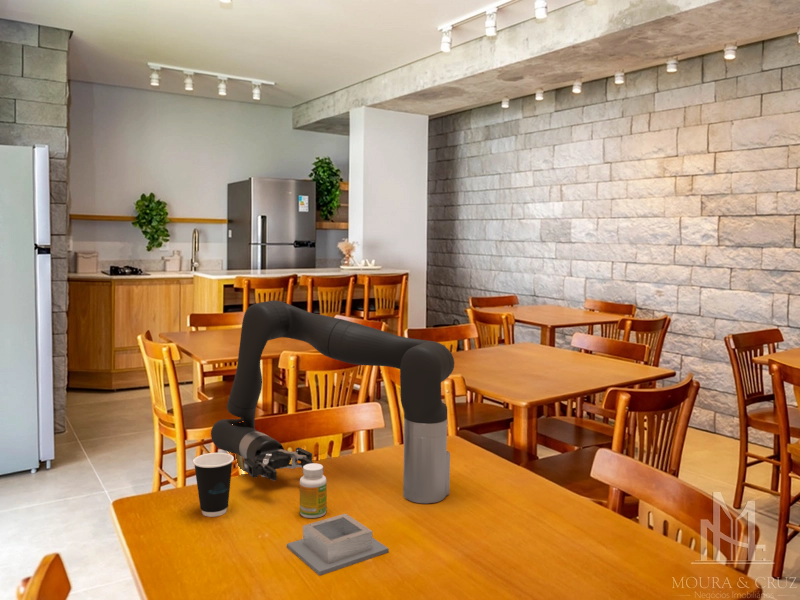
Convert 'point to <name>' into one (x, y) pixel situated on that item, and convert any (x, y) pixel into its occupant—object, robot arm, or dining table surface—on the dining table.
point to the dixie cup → (213, 482)
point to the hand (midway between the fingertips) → (293, 471)
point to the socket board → (336, 544)
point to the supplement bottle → (313, 491)
